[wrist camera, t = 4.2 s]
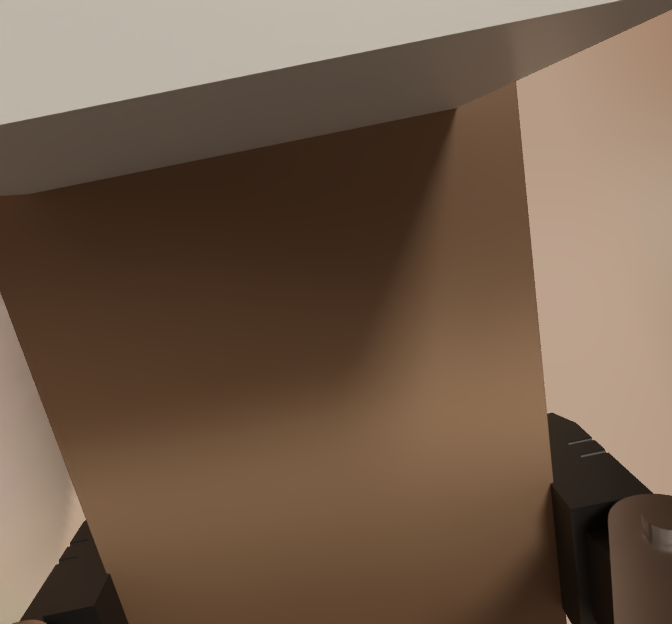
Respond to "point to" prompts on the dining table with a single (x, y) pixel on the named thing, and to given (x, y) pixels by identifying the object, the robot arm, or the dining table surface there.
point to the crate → (255, 72)
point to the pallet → (302, 376)
